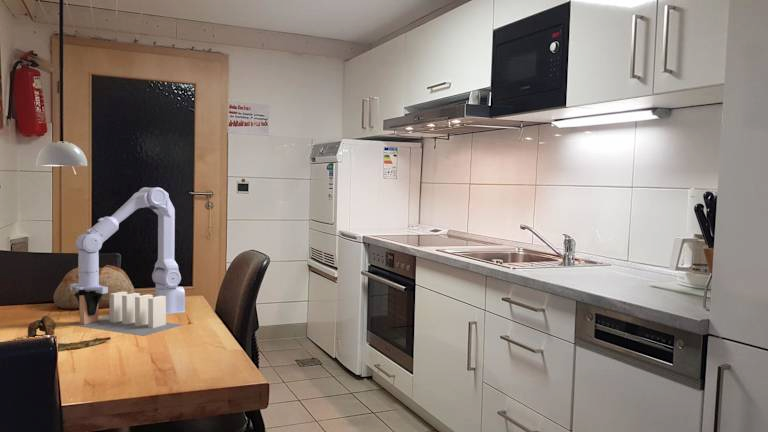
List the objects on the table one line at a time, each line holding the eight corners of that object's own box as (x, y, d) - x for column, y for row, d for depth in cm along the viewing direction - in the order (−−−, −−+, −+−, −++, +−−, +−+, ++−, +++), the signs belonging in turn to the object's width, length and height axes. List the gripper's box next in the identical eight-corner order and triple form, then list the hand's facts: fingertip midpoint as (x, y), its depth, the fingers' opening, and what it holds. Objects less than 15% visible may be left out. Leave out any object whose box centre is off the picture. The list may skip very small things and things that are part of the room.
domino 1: (79, 323, 178) (79, 295, 178) (94, 320, 183) (93, 292, 183) (84, 324, 178) (84, 295, 177) (98, 321, 182) (98, 293, 182)
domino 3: (122, 323, 180) (122, 295, 180) (135, 320, 185) (135, 292, 184) (126, 324, 179) (126, 295, 179) (139, 321, 184) (139, 293, 184)
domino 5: (148, 327, 176) (148, 298, 175) (161, 323, 180) (161, 295, 180) (153, 328, 175) (153, 298, 174) (165, 324, 180) (165, 296, 179)
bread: (45, 312, 197) (45, 269, 196) (64, 300, 219) (64, 261, 219) (128, 310, 204) (128, 268, 203) (138, 298, 226) (138, 260, 226)
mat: (69, 326, 178) (69, 324, 178) (112, 316, 192) (112, 315, 192) (143, 337, 165) (143, 335, 165) (183, 326, 180) (183, 324, 180)
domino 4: (135, 325, 178) (134, 296, 177) (148, 322, 183) (148, 294, 182) (139, 326, 177) (139, 297, 177) (152, 322, 182) (152, 294, 181)
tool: (11, 339, 161) (12, 374, 136) (12, 317, 160) (13, 348, 136) (102, 332, 174) (119, 363, 149) (103, 312, 173) (120, 340, 149)
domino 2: (109, 321, 182) (109, 293, 182) (122, 318, 187) (122, 291, 187) (114, 322, 181) (114, 294, 181) (127, 319, 186) (127, 292, 186)
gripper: (61, 271, 179) (61, 314, 180) (94, 274, 173) (94, 319, 174) (81, 269, 186) (81, 310, 186) (113, 272, 180) (113, 314, 180)
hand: (88, 314), depth 180 cm, fingers closed on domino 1, 2 cm apart
